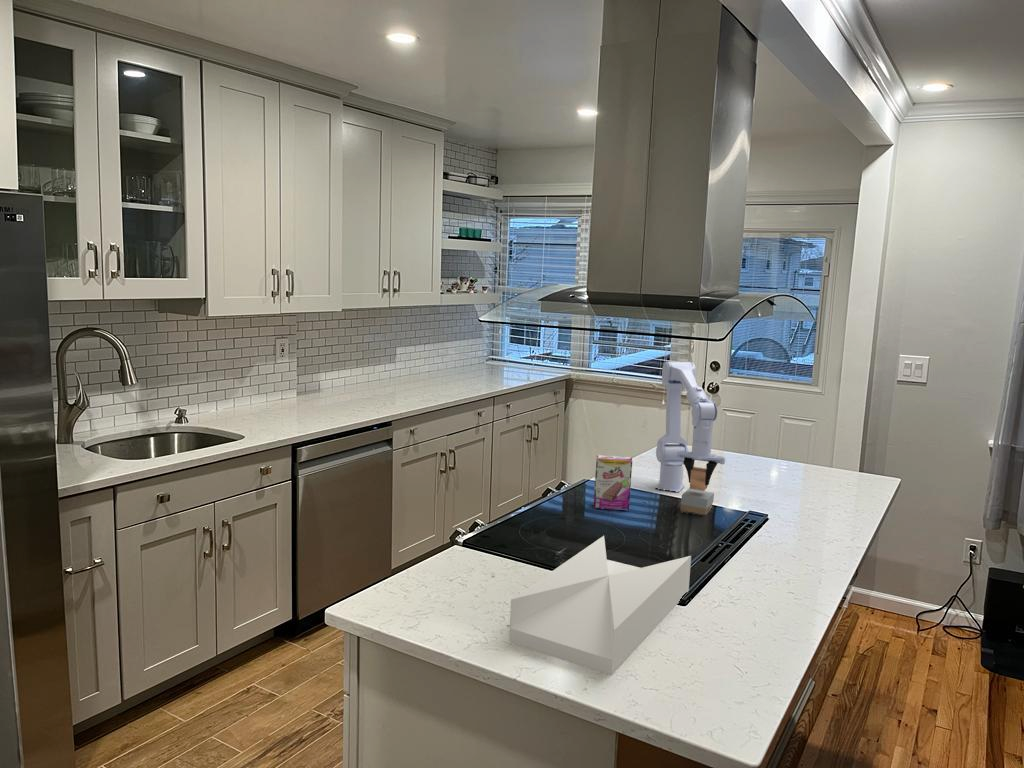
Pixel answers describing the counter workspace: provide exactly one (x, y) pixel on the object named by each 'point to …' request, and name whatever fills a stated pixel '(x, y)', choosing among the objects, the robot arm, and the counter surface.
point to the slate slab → (697, 498)
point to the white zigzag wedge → (596, 608)
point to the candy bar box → (612, 482)
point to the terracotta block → (698, 478)
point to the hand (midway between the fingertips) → (698, 483)
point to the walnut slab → (695, 509)
